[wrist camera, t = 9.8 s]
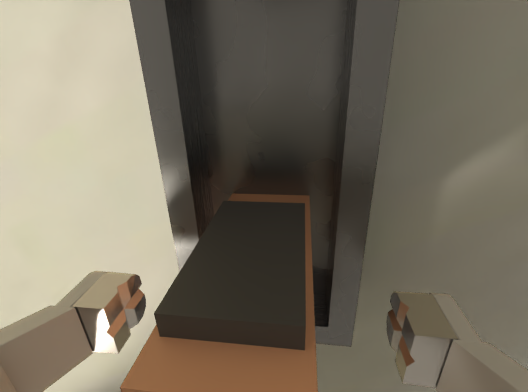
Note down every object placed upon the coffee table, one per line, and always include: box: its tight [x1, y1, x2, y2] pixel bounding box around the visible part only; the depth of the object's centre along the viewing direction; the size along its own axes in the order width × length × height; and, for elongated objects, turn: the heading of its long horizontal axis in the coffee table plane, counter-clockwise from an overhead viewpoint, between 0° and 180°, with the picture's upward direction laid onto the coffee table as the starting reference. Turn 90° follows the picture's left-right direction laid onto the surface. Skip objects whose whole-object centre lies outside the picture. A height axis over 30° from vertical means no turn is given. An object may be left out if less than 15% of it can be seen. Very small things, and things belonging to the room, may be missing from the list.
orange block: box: [120, 194, 318, 392], centre depth 9 cm, size 5×3×8 cm
